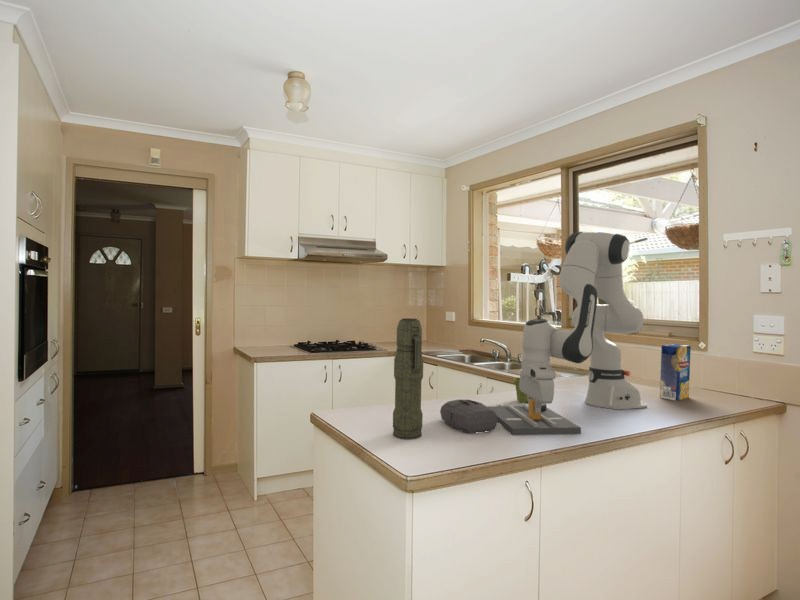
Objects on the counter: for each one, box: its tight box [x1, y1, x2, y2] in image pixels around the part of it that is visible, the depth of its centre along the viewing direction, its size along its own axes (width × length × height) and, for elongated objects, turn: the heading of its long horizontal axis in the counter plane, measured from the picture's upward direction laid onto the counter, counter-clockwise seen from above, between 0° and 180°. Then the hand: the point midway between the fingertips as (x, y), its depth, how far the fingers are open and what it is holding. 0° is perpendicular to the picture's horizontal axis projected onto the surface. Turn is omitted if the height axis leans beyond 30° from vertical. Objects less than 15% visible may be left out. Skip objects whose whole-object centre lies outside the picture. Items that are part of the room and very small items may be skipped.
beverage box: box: [659, 343, 692, 402], centre depth 211 cm, size 7×11×22 cm, turn 127°
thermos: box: [392, 317, 424, 440], centre depth 150 cm, size 9×12×35 cm
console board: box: [486, 403, 582, 436], centre depth 168 cm, size 22×28×4 cm
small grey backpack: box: [439, 399, 498, 434], centre depth 163 cm, size 15×8×20 cm
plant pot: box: [513, 377, 528, 403], centre depth 199 cm, size 9×9×9 cm
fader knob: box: [528, 399, 541, 420], centre depth 164 cm, size 3×3×6 cm
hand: (534, 411), depth 164 cm, fingers closed on fader knob, 3 cm apart
